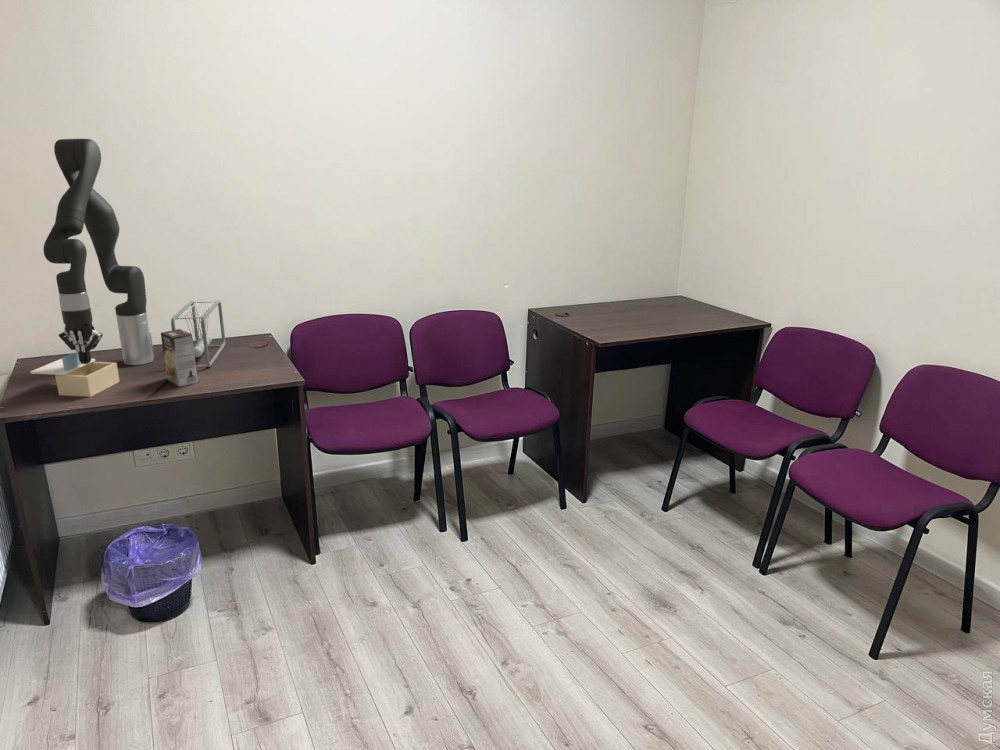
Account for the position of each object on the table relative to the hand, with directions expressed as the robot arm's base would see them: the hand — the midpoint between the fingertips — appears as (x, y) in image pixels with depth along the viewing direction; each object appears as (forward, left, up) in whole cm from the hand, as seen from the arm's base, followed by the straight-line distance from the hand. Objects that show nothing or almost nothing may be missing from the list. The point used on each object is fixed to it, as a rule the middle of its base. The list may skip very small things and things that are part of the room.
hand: (85, 363), depth 213 cm
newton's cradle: (-39, +16, -9) cm, 43 cm away
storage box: (0, 0, -9) cm, 9 cm away
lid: (0, -7, -2) cm, 7 cm away
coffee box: (-12, +23, -9) cm, 27 cm away
